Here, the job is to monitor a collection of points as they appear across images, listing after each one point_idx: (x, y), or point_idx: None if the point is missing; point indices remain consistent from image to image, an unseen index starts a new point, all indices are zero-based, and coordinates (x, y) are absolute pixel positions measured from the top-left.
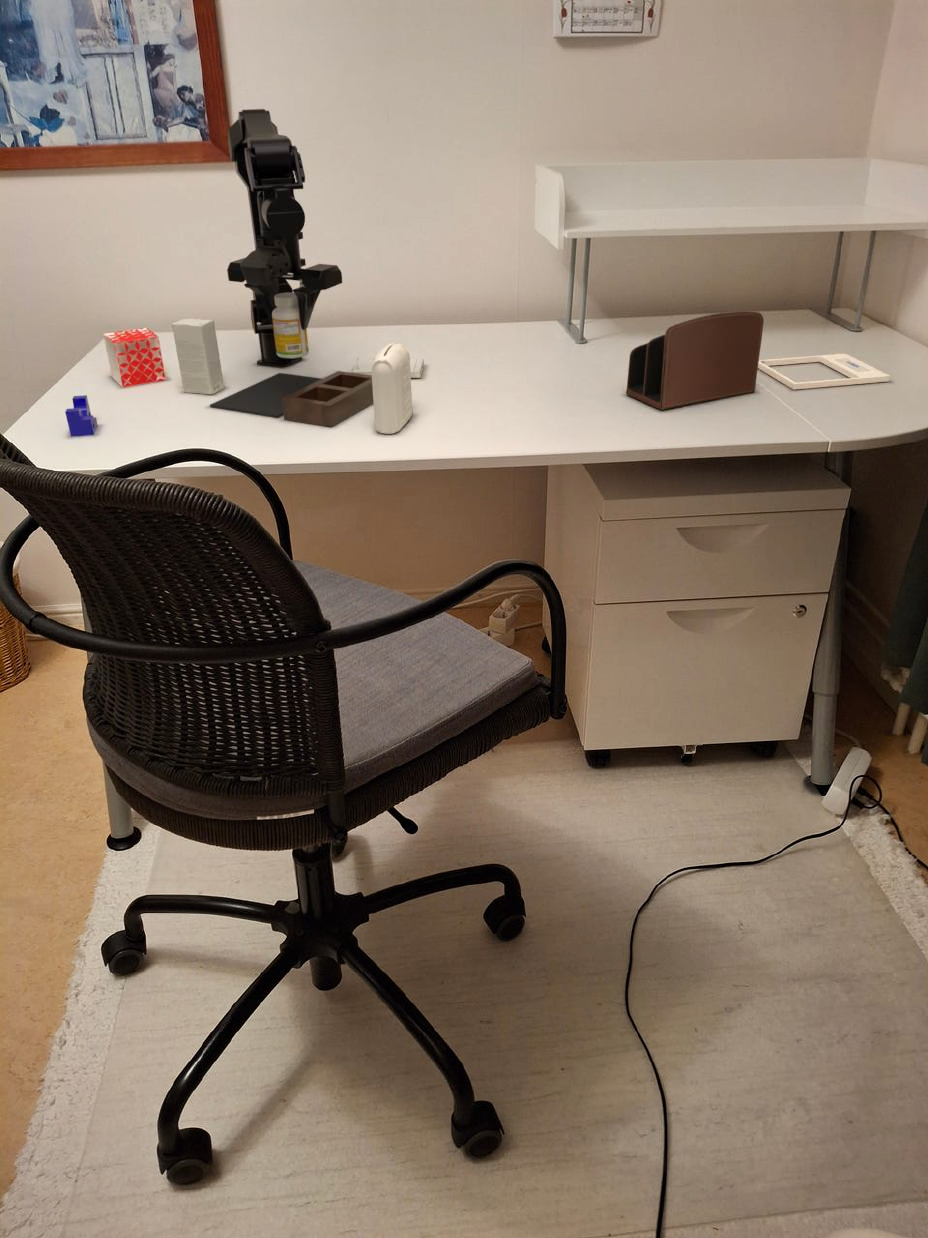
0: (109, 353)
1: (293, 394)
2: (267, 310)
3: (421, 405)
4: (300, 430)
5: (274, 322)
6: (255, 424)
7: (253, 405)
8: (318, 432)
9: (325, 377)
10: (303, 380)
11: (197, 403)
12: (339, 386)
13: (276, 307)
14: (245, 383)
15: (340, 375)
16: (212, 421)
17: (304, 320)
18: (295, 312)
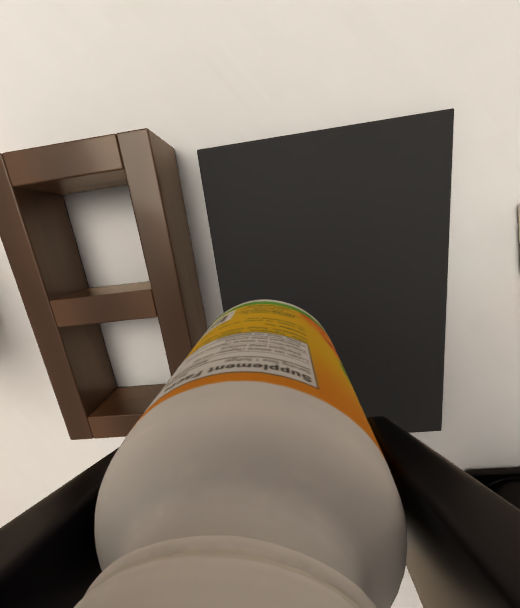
0: None
1: (149, 188)
2: (466, 493)
3: (2, 396)
4: (75, 104)
5: (300, 373)
6: (213, 67)
7: (320, 180)
8: (27, 120)
9: None
10: None
11: (514, 117)
12: None
13: (430, 595)
14: (485, 335)
15: None
16: (349, 4)
17: (79, 475)
18: (97, 519)
